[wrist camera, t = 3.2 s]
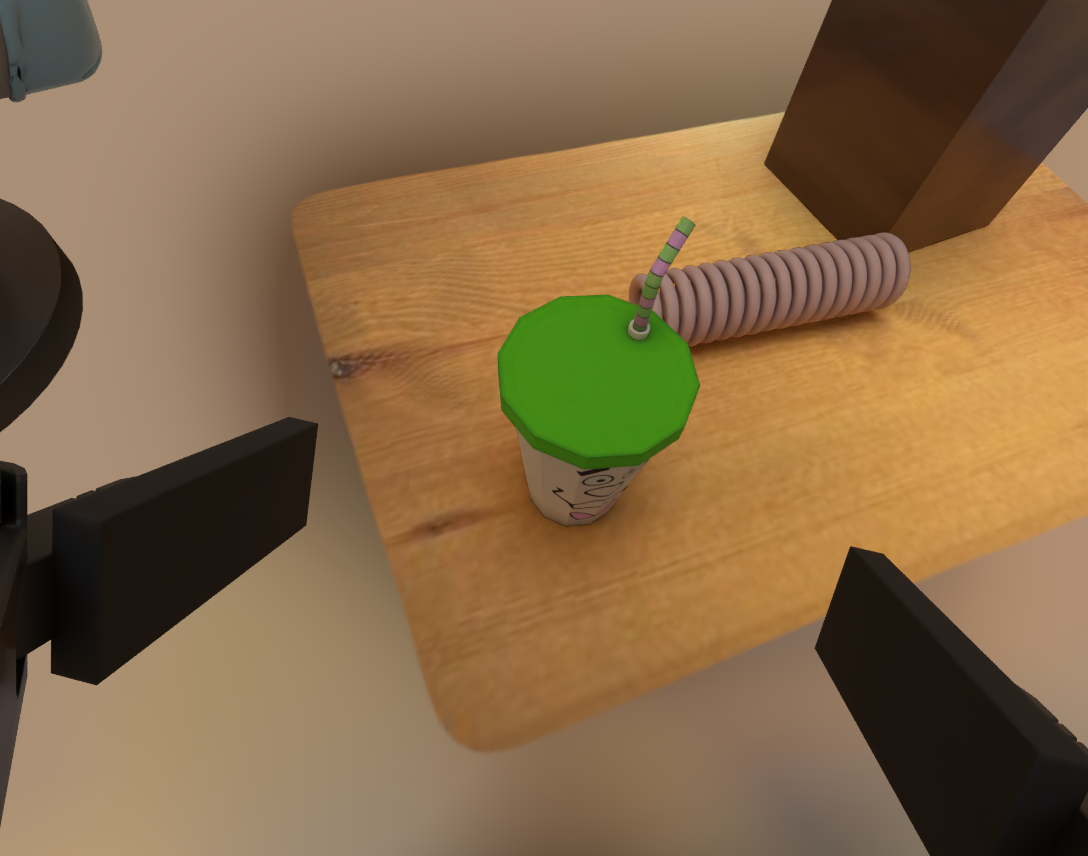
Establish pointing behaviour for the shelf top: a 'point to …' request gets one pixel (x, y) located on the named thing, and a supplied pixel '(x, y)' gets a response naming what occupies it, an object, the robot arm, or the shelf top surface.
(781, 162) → the stand
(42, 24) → the robot arm
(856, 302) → the coil
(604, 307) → the cup
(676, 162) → the shelf top surface
